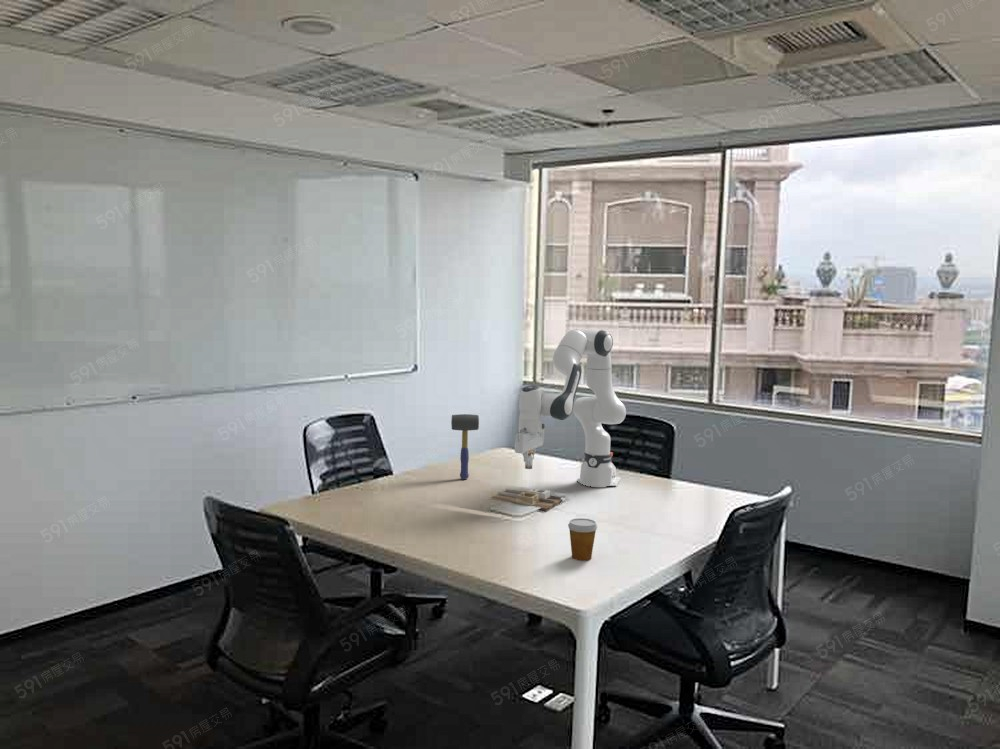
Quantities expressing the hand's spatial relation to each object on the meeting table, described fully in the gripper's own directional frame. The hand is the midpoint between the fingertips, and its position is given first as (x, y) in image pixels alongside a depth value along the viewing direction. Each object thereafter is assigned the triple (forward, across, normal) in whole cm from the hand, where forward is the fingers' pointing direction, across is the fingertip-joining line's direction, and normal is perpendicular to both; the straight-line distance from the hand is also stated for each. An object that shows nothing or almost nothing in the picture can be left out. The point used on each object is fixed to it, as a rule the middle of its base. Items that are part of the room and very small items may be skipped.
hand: (528, 460), depth 321 cm
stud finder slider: (+17, +8, -1) cm, 18 cm away
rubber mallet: (+19, +25, +44) cm, 54 cm away
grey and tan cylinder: (+3, 0, 0) cm, 3 cm away
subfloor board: (+19, +4, +3) cm, 19 cm away
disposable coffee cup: (+19, -47, -42) cm, 66 cm away
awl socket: (+17, 0, 0) cm, 17 cm away
